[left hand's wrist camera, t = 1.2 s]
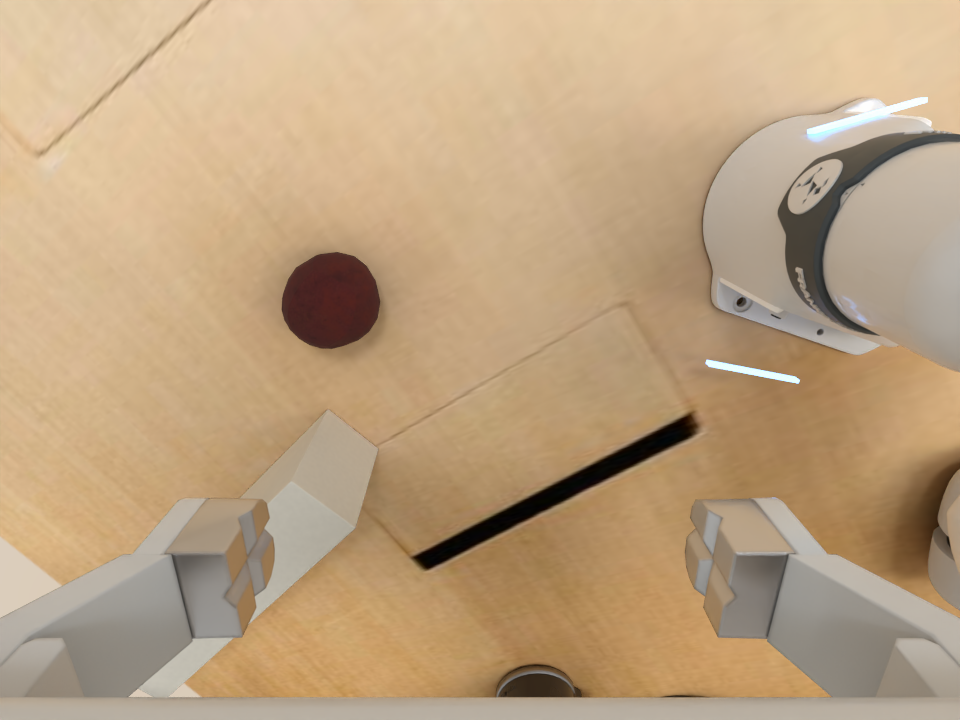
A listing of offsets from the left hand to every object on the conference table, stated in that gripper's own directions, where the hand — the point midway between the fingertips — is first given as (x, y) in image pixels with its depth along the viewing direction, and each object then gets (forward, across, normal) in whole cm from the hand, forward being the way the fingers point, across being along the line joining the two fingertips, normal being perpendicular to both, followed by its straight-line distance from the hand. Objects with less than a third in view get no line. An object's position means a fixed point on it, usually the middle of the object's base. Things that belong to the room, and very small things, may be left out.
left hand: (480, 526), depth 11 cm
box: (+38, -21, -28) cm, 52 cm away
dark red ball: (+38, -12, -5) cm, 40 cm away
